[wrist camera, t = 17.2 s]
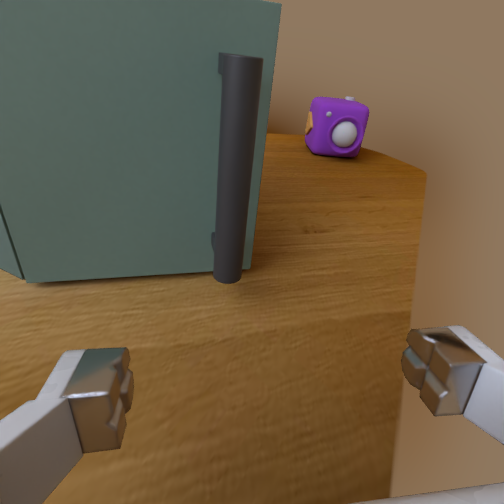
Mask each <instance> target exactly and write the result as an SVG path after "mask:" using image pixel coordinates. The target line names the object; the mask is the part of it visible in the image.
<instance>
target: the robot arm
mask: <svg viewBox="0 0 504 504" xmlns="http://www.w3.org/2000/svg"><path fill="white" fill-rule="evenodd" d="M406 341H407V343H408V344H409V347H408V348H407V349H406V350H405V351H404V352H403V354H402V359H401V365H402V371H403V373H404V375H405V378H406V379H407V380H408V382H409V383H410V384H411V385H412V386H414V387H416V388H417V389H419V390H420V398H421V399H422V401H423V402H424V403H425V405H426V406H427V407H428V409H429V410H430V411H431V412H432V414H433V415H434V416H447V415H461V414H463V416H464V417H465V418H467V419H468V420H469V421H471V422H472V423H474V424H475V425H476V426H478V427H479V428H481V429H482V430H483V431H485V432H486V433H488V434H489V435H491V436H492V437H494V438H495V439H496V440H498V441H499V442H501V443H502V444H503V445H504V360H503V359H502V358H501V357H500V356H498V355H497V354H496V353H495V352H494V351H492V350H491V349H490V348H489V347H488V346H486V345H485V344H484V343H482V341H480V340H479V339H478V338H477V337H476V336H474V335H473V334H472V333H471V332H469V331H468V330H467V329H466V328H465V327H462V326H460V325H457V326H444V327H437V328H424V329H411V331H410V332H409V333H408V336H407V339H406ZM129 362H130V355H129V350H128V349H127V348H126V347H124V348H100V349H87V350H86V349H82V350H67V351H66V352H64V353H63V354H62V356H61V357H60V359H59V361H58V362H57V364H56V366H55V368H54V369H53V371H52V373H51V374H50V376H49V378H48V379H47V381H46V383H45V384H44V386H43V388H42V389H41V391H40V393H39V395H38V396H37V398H36V400H32V401H27V402H26V403H25V404H23V405H22V406H20V407H19V408H18V409H16V410H15V411H13V412H12V413H10V414H9V415H8V416H6V417H5V418H3V419H2V420H0V504H42V503H43V502H44V501H45V500H46V498H47V497H48V496H49V495H50V494H51V493H52V491H53V490H54V489H55V488H56V487H57V486H58V484H59V483H60V482H61V481H62V480H63V479H64V478H65V476H66V475H67V474H68V473H69V472H70V471H71V469H72V468H73V467H74V466H75V465H76V464H77V462H78V461H79V460H80V459H81V458H82V457H83V454H84V453H92V452H99V451H107V450H114V449H120V448H121V444H122V440H123V436H124V432H125V429H126V425H127V424H126V418H125V414H126V413H127V412H128V411H129V410H130V409H131V404H132V400H133V391H134V379H133V372H132V371H131V370H129V369H128V366H129ZM349 504H504V482H503V483H496V484H489V485H481V486H474V487H466V488H459V489H453V490H444V491H438V492H430V493H423V494H415V495H408V496H401V497H393V498H386V499H379V500H371V501H364V502H357V503H349Z"/></svg>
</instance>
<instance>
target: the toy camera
mask: <svg viewBox="0 0 504 504" xmlns="http://www.w3.org/2000/svg"><path fill="white" fill-rule="evenodd" d="M368 117H369V109H368V107H367V106H365V105H363V104H361V103H359V102H356V101H355V98H354V97H349V96H347V97H346V98H345V99H339V98H329V97H316V98H314V99H313V101H312V103H311V107H310V112H309V114H308V120H307V125H306V131H305V142H306V144H307V146H308V147H309V149H310V150H311V151H312V152H313V153H315V154H318V155H326V156H336V157H355V156H357V154H358V153H359V150H360V147H361V143H362V139H363V136H364V132H365V128H366V125H367V121H368Z"/></svg>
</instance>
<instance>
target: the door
mask: <svg viewBox="0 0 504 504" xmlns="http://www.w3.org/2000/svg"><path fill="white" fill-rule="evenodd" d="M281 6H282V4H280V3H275V2H269V1H263V0H0V204H1V207H2V210H3V213H4V216H5V219H6V222H7V225H8V228H9V231H10V234H11V237H12V240H13V243H14V246H15V249H16V252H17V255H18V258H19V261H20V264H21V267H22V270H23V273H24V276H25V279H26V282H27V283H38V282H54V281H70V280H85V279H101V278H116V277H132V276H147V275H163V274H178V273H194V272H210V271H213V276H214V278H215V279H216V280H217V281H218V282H221V283H225V284H232V283H235V282H237V281H239V280H240V278H241V275H242V269H250V267H251V259H252V250H253V242H254V234H255V225H256V217H257V208H258V200H259V191H260V183H261V174H262V166H263V158H264V149H265V141H266V132H267V123H268V115H269V107H270V98H271V90H272V82H273V73H274V65H275V56H276V47H277V40H278V31H279V23H280V14H281Z"/></svg>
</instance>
